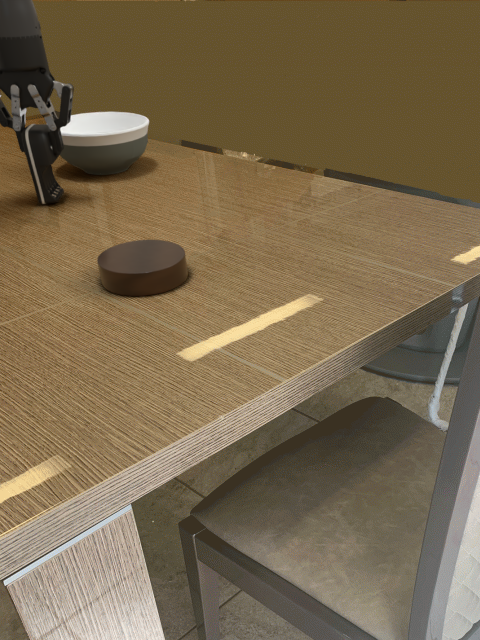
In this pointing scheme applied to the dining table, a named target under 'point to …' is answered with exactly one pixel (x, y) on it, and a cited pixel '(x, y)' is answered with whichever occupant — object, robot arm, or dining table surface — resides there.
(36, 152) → the battery charger
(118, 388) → the dining table surface
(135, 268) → the brown round disc
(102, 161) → the bowl
